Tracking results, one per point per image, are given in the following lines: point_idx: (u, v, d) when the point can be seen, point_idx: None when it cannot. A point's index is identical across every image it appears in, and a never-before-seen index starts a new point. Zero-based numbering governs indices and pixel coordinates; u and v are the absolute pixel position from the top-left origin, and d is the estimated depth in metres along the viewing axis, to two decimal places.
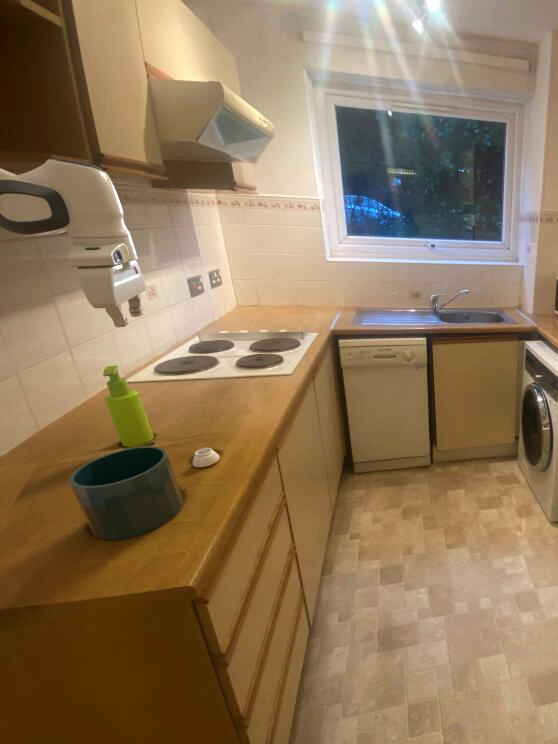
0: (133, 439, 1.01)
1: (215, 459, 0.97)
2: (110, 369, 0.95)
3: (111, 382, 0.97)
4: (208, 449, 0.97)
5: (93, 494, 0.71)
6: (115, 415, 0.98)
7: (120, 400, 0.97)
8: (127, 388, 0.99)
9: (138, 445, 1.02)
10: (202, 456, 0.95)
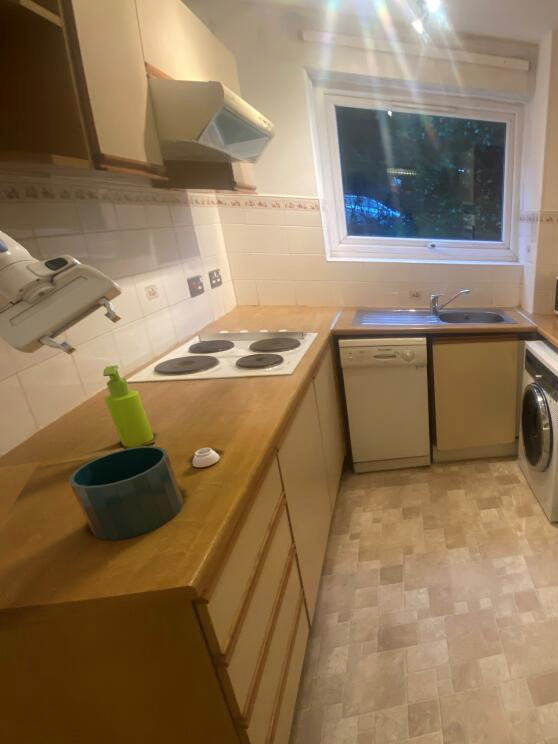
0: (133, 439, 1.01)
1: (215, 459, 0.97)
2: (110, 369, 0.95)
3: (111, 382, 0.97)
4: (208, 449, 0.97)
5: (93, 494, 0.71)
6: (115, 415, 0.98)
7: (120, 400, 0.97)
8: (127, 388, 0.99)
9: (138, 445, 1.02)
10: (202, 456, 0.95)
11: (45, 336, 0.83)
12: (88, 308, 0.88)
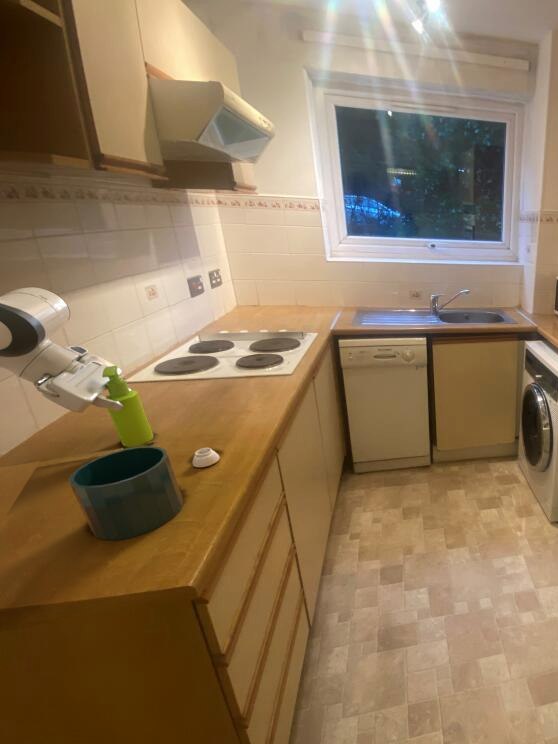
0: (133, 440, 1.01)
1: (215, 459, 0.97)
2: (109, 370, 0.95)
3: (110, 383, 0.96)
4: (208, 449, 0.97)
5: (93, 494, 0.71)
6: (115, 416, 0.98)
7: None
8: (126, 388, 0.98)
9: (138, 445, 1.02)
10: (202, 456, 0.95)
11: (100, 395, 0.94)
12: None
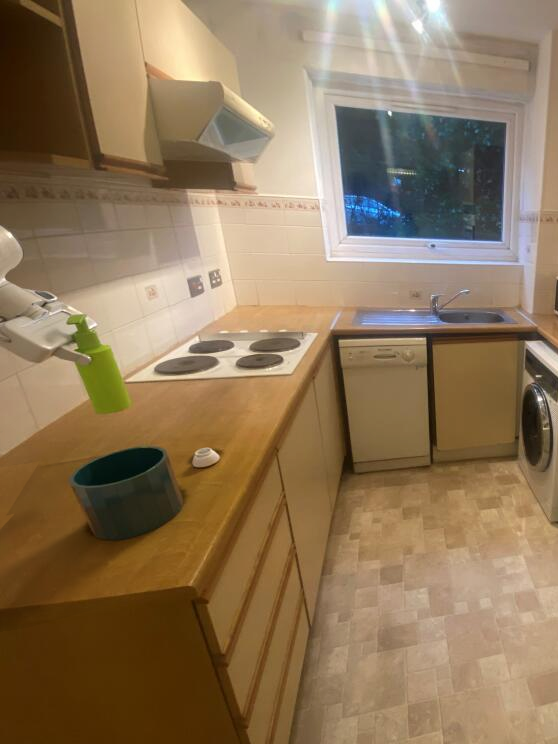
0: (105, 401, 0.88)
1: (215, 459, 0.97)
2: (76, 317, 0.82)
3: (78, 333, 0.83)
4: (208, 449, 0.97)
5: (93, 494, 0.71)
6: (83, 372, 0.85)
7: None
8: (97, 341, 0.86)
9: (110, 408, 0.89)
10: (202, 456, 0.95)
11: (64, 345, 0.81)
12: (73, 338, 0.87)
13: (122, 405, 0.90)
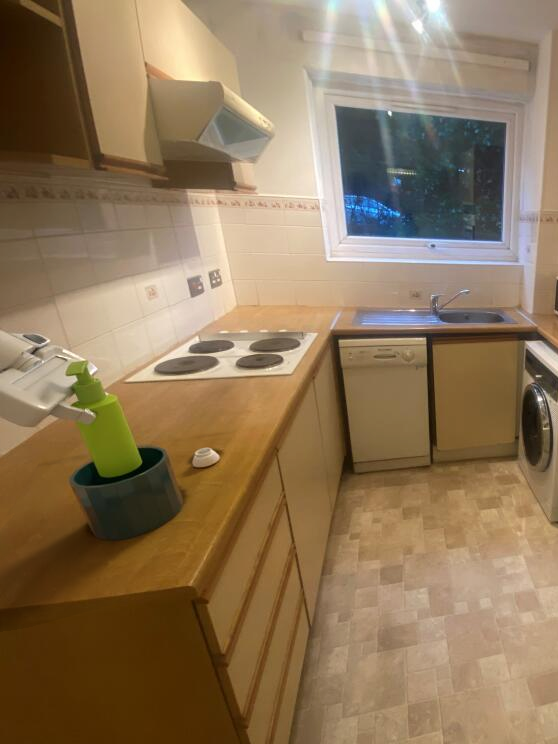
0: (111, 462, 0.73)
1: (215, 459, 0.97)
2: (76, 366, 0.67)
3: (78, 384, 0.69)
4: (208, 449, 0.97)
5: (93, 494, 0.71)
6: (85, 430, 0.70)
7: (91, 409, 0.69)
8: (102, 392, 0.71)
9: (118, 469, 0.74)
10: (202, 456, 0.95)
11: (63, 401, 0.67)
12: None
13: (132, 465, 0.76)
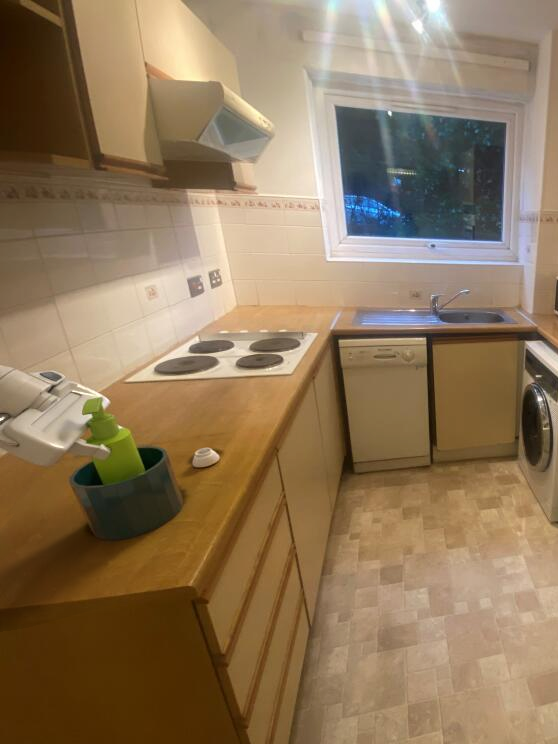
0: None
1: (215, 459, 0.97)
2: (92, 404, 0.70)
3: (93, 421, 0.72)
4: (208, 449, 0.97)
5: (93, 494, 0.71)
6: (100, 464, 0.73)
7: (106, 444, 0.72)
8: (115, 427, 0.74)
9: None
10: (202, 456, 0.95)
11: (79, 439, 0.69)
12: None
13: None
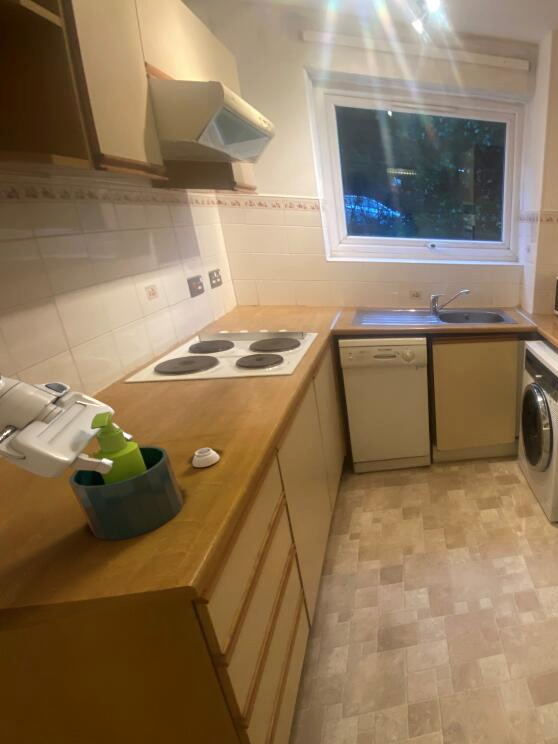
0: None
1: (215, 459, 0.97)
2: (100, 418, 0.72)
3: (102, 435, 0.73)
4: (208, 449, 0.97)
5: (93, 494, 0.71)
6: (107, 477, 0.75)
7: (113, 458, 0.74)
8: (123, 441, 0.75)
9: None
10: (202, 456, 0.95)
11: (82, 453, 0.69)
12: None
13: None
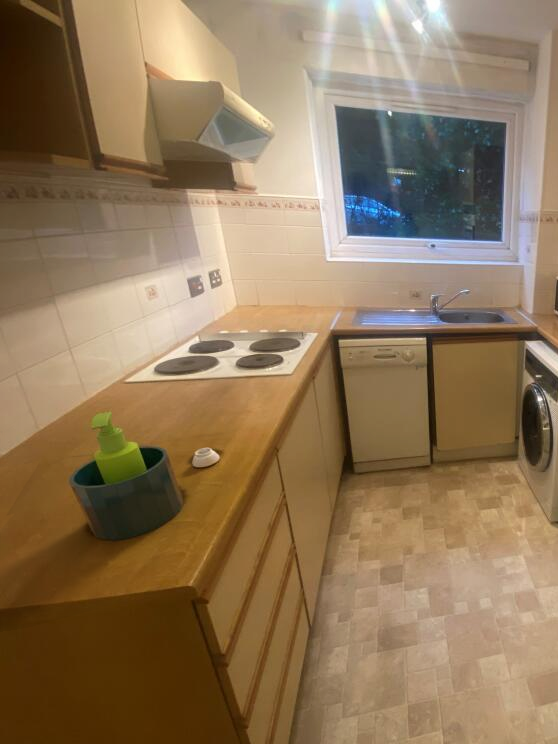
0: None
1: (215, 459, 0.97)
2: (100, 418, 0.72)
3: (102, 435, 0.73)
4: (208, 449, 0.97)
5: (93, 494, 0.71)
6: (107, 477, 0.75)
7: (113, 458, 0.74)
8: (123, 441, 0.75)
9: None
10: (202, 456, 0.95)
11: None
12: None
13: None
